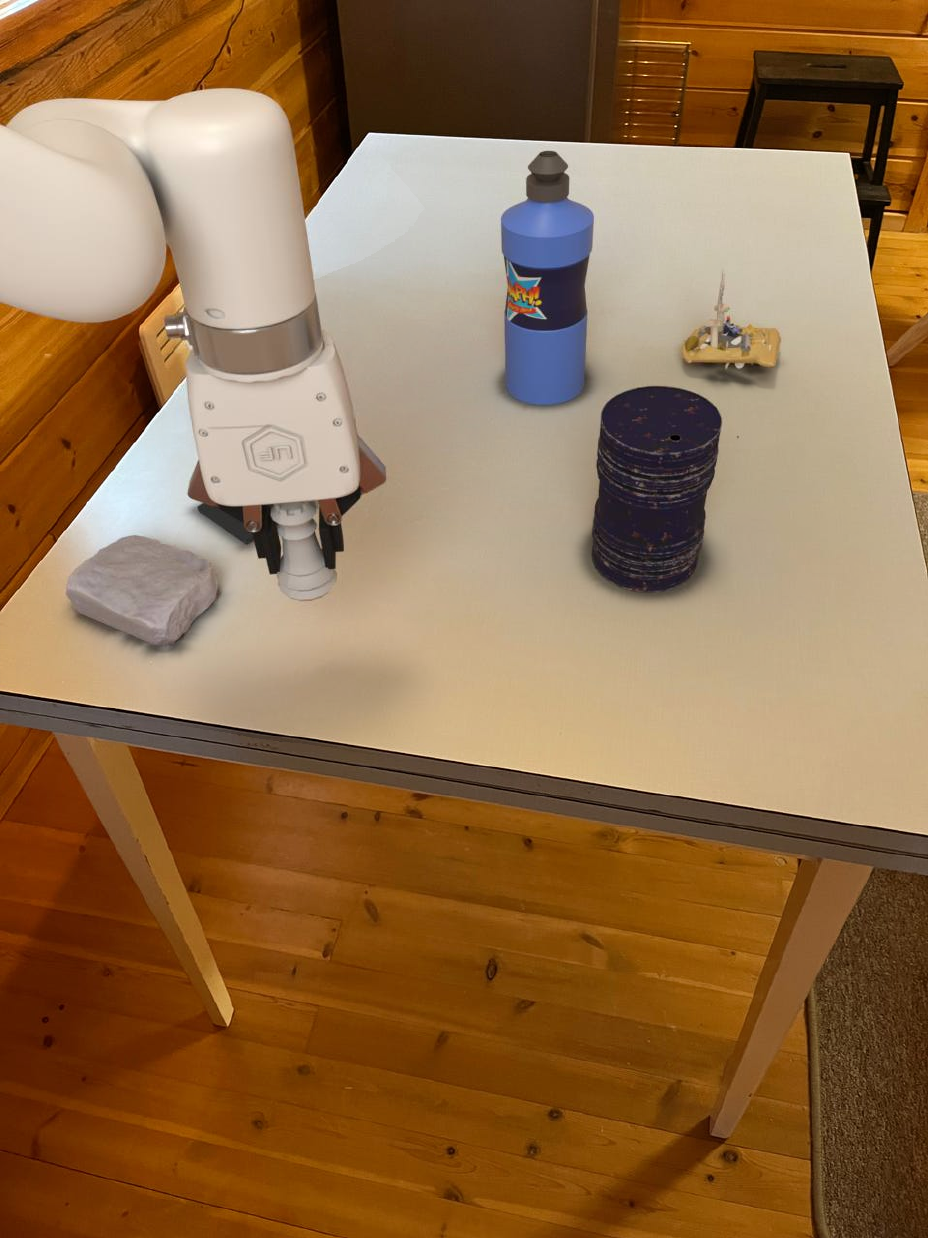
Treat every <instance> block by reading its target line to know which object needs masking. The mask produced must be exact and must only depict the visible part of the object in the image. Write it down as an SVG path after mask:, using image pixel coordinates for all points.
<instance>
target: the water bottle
mask: <svg viewBox="0 0 928 1238" xmlns="http://www.w3.org/2000/svg"><path fill="white" fill-rule="evenodd" d="M568 168H569V165H568V163H567V162H566V161H565V160H564V159H563V157H561V155H560V154H558V152H557V151H554V150H543V151H540V152H539V153H538V154H537V155H536V156H535V157H534V159H533V160H532V161H531V162H530V163H529V164H528V165H527V170H528V171H529V172H530V173H529V174H528V175H527V176H526V177H525V196H526V197H527V198H526V199H525V200H523V201H521V202H519V203H516V204H514V205H512V206H510V207H509V208H507V209H506V210H504V211H503V212H502V214H501V217H500V245H501V254H502V255H503V261H504V268H505V276H506V284H507V291H506V297H505V298H506V299H505V308H504V312H503V313H504V314H503V316H504V317H503V319H504V322H503V323H504V372H505V373H504V374H505V375H504V376H505V389H506V391H507V393H508V394H509V395H510V396H512V397H513V398H514V399H516V400H518V401H520V402H523V403H526V404H530V405H535V406H553V405H558V404H562V403H565V402H568V401H571V400H573V399H574V398H576V397H578V396H579V395H580V393H582V391H583V389H584V387H585V378H586V377H585V375H586V357H587V355H586V354H587V335H588V313H589V312H588V308H587V307H588V306H587V305H588V304H587V297H586V296H587V294H586V281H587V275H588V274H587V273H588V269H589V262H590V256H591V253H592V251H593V247H594V245H593V244H594V243H593V242H594V227H595V225H594V223H595V222H594V221H595V215H594V213H593V211H592V210H591V209H590V208H589V207H587V206H586V205H584V204H582V203H579V202H577V201H574V200H572V199H569V195H570V175H569V174H567V173H566V171H567V169H568Z"/></svg>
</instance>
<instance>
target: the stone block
mask: <svg viewBox="0 0 928 1238" xmlns="http://www.w3.org/2000/svg"><path fill="white" fill-rule="evenodd" d="M218 589H219V581H218V576H217V574H216V572H215V570H214V568H213V566H212V563H211V562H210V560H208V559H207V558H201V557H199V556H197V555H196V554H195V553H194V552H193V551H190V550H187V549H181V548H179V547H177V546H175V545H171V544H168V543H161V542H160V541H159V540H157V539H153V538H151V537H146V536H143V535H138V534H132V535H127V536H122V537H120V538H119V539H117V540H116V541H113V542H112V543H110V544H108V545H107V546H105V547H102V548H99V549H98V551H97V552H96V553H94V554H93V556H92V557H89V558H87V559H86V560H84V561H83V562H82V563H81V564H80V565H78V566H77V567H76V568H75V569H74V570H73V571H72V572H71V574H70V575H69V576H68V578H67V582H66V587H65V594H66V597H67V599H68V600H69V601H70V603H71V606H72V608H73V610H75V611H76V612H78V613H79V614H81V615H83V616H85V617H88V618H90V619H91V620H94V621H96V622H99V623H102V624H104V625H106V626H108V627H110V628H112V629H115V630H118V631H120V632H123V633H124V634H128V635H131V636H134V637H135V638H137V639H139V640H142V641H144V642H146V643H148V644H150V645H153V646H159V647H160V646H168V647H171V646H174V645H175V643H176V641H178V640H179V639H180V638H181V637H182V636H183V634H184V635H185V634H186V633H187V632H188V631H189V629H190V627H191V626H192V624H193V623H194V622H195V620H196V619H197V618H198V617H199V616H201V615H202V614H203V613H204V612H205V611H206V610H208V608H210V607H211V606H212V604H213V603H214V602H215V600H216V599H217V593H218Z"/></svg>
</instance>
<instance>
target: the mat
mask: <svg viewBox="0 0 928 1238" xmlns="http://www.w3.org/2000/svg"><path fill="white" fill-rule="evenodd" d="M266 505H270V509H272V507H273V506H274V504H266ZM197 511H198V512H199V513H200V514H201V515H204V516H205V517H206V518H207V519H209V520H211V521H212V522H213V523H215V524H216V525H217V526H219V527H221V528H222V529H223V530H225V531H226V532H228V533H229V534H231V535H232V536H233V537H235V538H236V539H238V540H239V541H241V542H242V543H244V544H245V545H249V544H250V543H252V542H254V539H253V535H252V532H249V531H247V530H246V529H245V527H244V523H242V522H240V521H239V520H237V519H235V518H234V517H232V516H230V515H228V514H227V513H225V512H223V511H222V510H220V508H219V507H218V506H215V505H214V506H211V505H208V504H205V503H200V504H199V505H197ZM276 525H277V526H278V525H279V524H278V523H277V522H276Z"/></svg>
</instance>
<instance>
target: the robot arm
mask: <svg viewBox="0 0 928 1238" xmlns="http://www.w3.org/2000/svg"><path fill="white" fill-rule="evenodd" d="M303 203H304V202H303V196H302V190H301V183H300V176H299V169H298V164H297V155H296V149H295V143H294V137H293V133H292V127H291V123H290V121H289V118H288V116H287V114H286V113H285V111H284V109H283V108H282V107H281V105H280V104H279V103H278V102H277V101H275V100H274V99H273V98H271V97H270V96H268V95H266V94H264V93H261V92H258V91H253V90H249V89H243V88H232V87H230V88H229V87H221V88H206V89H199V90H194V91H189V92H186V93H182V94H179V95H176V96H173V97H171V98H169V99H165V100H124V99H123V100H121V99H105V98H104V99H101V98H84V97H83V98H81V97H79V98H77V97H75V98H74V97H65V98H54V99H47V100H42V101H39V102H36V103H33V104H31V105H29V106H26V107H25V108H23V109H22V110H20V111H19V112H17V114H15V115H14V116H12V118H11V119H10V120H9V121H8V123H7V124H6V126H5V125H3V124H0V303H1V304H4V305H7V306H10V307H12V308H15V309H18V310H21V311H25V312H27V313H31V314H34V315H37V316H43V317H46V318H48V319H49V318H50V319H52V320H53V319H54V320H59V321H66V322H73V323H84V324H85V323H87V324H89V323H105V322H109V321H113V320H117V319H120V318H122V317H124V316H127V315H129V314H132V313H133V312H134V311H136V310H138V309H139V308H140V307H142V306H143V305H144V304H145V303H146V301H148V300H149V298H151V296H152V295H153V294H154V293H155V290H156V289H157V287H158V285H159V284H160V281H161V279H162V277H163V273H164V270H165V266H166V260H167V246H168V247H169V249H170V252H171V256H172V260H173V264H174V267H175V272H176V275H177V279H178V283H179V287H180V291H181V294H182V298H183V302H184V303H183V304H184V307H183V311H179V312H177V313H176V314H172V315H171V314H169V315H165V316H164V329H165V334H166V337H167V338H168V339H169V340H175V339H180V340H181V341H185V340H188V342H189V344H190V345H192V347H193V348H192V350H191V351H190V352H189V354H188V357H187V358H186V362H185V380H186V381H185V382H186V390H187V400H188V407H189V415H190V420H191V427H192V432H193V437H194V442H195V443H194V444H195V447H196V454H197V458H198V460H197V463H196V464H195V466H194V469H193V472H192V474H191V477H190V479H189V481H188V482H189V483H188V487H187V488H188V489H187V493H186V494H187V496H188V497H189V498H190V499H191V500H194V501H196V502H199V503H201V504H203V503H205V504H208V505H211V506H214V505H215V506H218V507H219V508H220V510H222V511H223V512H225V513H227V514H228V515H230V516H232V517H234V518H235V519H237V520H239V521H240V522H242V523H244V527H245V529H246V530H247V531H249V532H252V535H253V539H254V540H253V544H254V548H255V551H256V556H257V559H259V560H260V559H265V560H266V566H267V568H268V573H269V576H270V575H277V572H280V561H281V557H282V544H281V539H280V538H281V537H280V535H279V533H278V531H277V529H278V525H276V522H275V521H274V520H273V519H272V517H271V515H270V513H271V509H270V505H266V504H279V503H291V502H303V501H314V502H315V501H317V503H318V532H319V533H318V534H319V539H320V545H321V548H322V551H323V556H324V562H325V567H326V568H328V569H335V570H336V568H337V553H341V552H342V553H343V552H345V541H344V533H343V526H342V520H343V516H344V515H346V513H347V512H348V511H350V509H351V508H353V506H354V505H356V504H357V503H358V502H359V500H360V499H361V497H362V496H363V495H365V494H366V495H367V494H369V493H371V492H372V491H374V490H375V489H377V488H379V487H381V486H382V485H384V484H385V483H386V482H387V468H386V465H385V464H384V463H383V462H382V460H381V459H380V458H379V457H378V456H377V455H376V454H375V452H374V451H373V450H372V449H371V448H370V447H369V445H368V444H367V443H366V442H365V441H364V440H363V439H362V438H361V437H360V435H359V434H358V428H357V423H356V417H355V412H354V408H353V403H352V398H351V394H350V389H349V385H348V382H347V377H346V374H345V370H344V367H343V363H342V361H341V358H340V355H339V353H338V349H337V347H336V345H335V342H334V339H333V337H332V336H331V334H330V333H328V332H327V331H326V330H323V329H322V325H321V318H320V317H321V316H320V311H319V304H318V298H317V292H316V287H315V286H316V285H315V279H314V269H313V264H312V257H311V250H310V244H309V238H308V231H307V224H306V223H307V222H306V218H305V211H304V210H305V209H304V204H303Z"/></svg>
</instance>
